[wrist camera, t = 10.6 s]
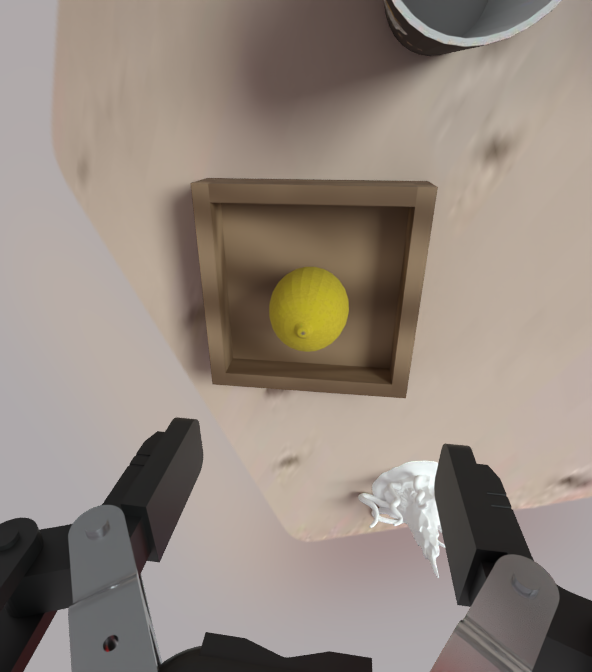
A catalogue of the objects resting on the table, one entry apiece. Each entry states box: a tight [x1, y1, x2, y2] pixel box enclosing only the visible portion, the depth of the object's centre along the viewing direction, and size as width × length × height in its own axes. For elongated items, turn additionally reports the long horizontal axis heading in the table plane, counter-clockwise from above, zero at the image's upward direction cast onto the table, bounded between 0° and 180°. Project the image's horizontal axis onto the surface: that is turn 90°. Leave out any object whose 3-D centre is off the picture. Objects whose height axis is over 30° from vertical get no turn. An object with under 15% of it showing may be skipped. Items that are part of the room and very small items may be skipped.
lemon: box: [269, 267, 349, 352], centre depth 28 cm, size 6×6×8 cm
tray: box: [191, 178, 438, 398], centre depth 31 cm, size 16×16×4 cm
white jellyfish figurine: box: [358, 461, 445, 578], centre depth 37 cm, size 9×12×9 cm
